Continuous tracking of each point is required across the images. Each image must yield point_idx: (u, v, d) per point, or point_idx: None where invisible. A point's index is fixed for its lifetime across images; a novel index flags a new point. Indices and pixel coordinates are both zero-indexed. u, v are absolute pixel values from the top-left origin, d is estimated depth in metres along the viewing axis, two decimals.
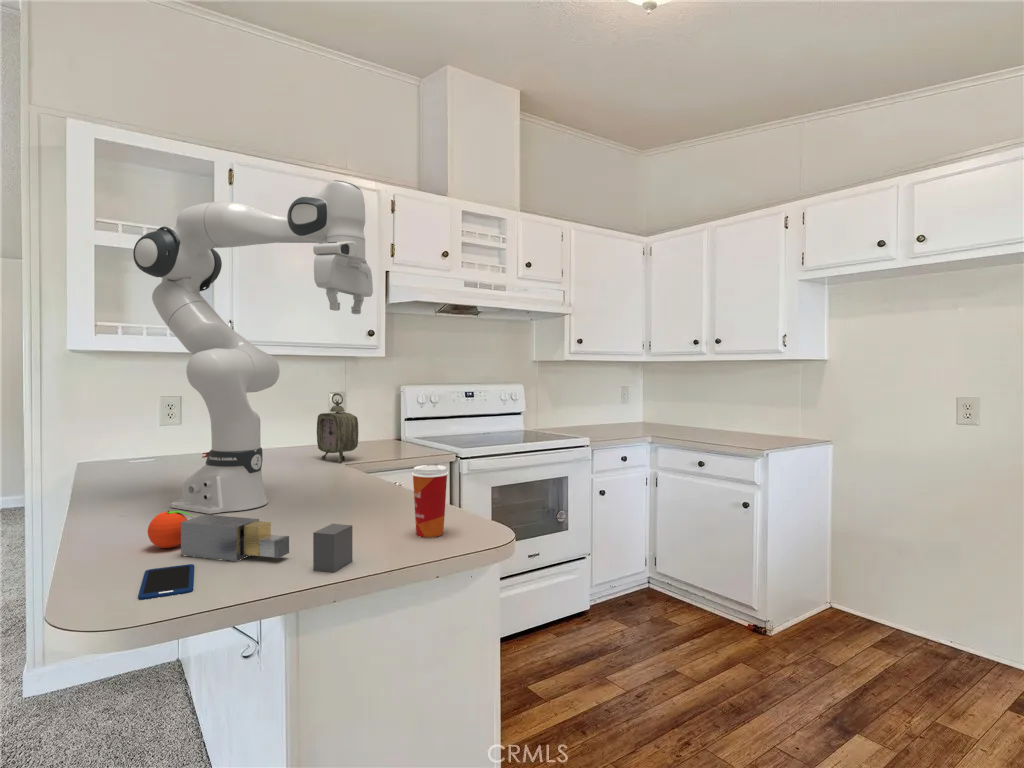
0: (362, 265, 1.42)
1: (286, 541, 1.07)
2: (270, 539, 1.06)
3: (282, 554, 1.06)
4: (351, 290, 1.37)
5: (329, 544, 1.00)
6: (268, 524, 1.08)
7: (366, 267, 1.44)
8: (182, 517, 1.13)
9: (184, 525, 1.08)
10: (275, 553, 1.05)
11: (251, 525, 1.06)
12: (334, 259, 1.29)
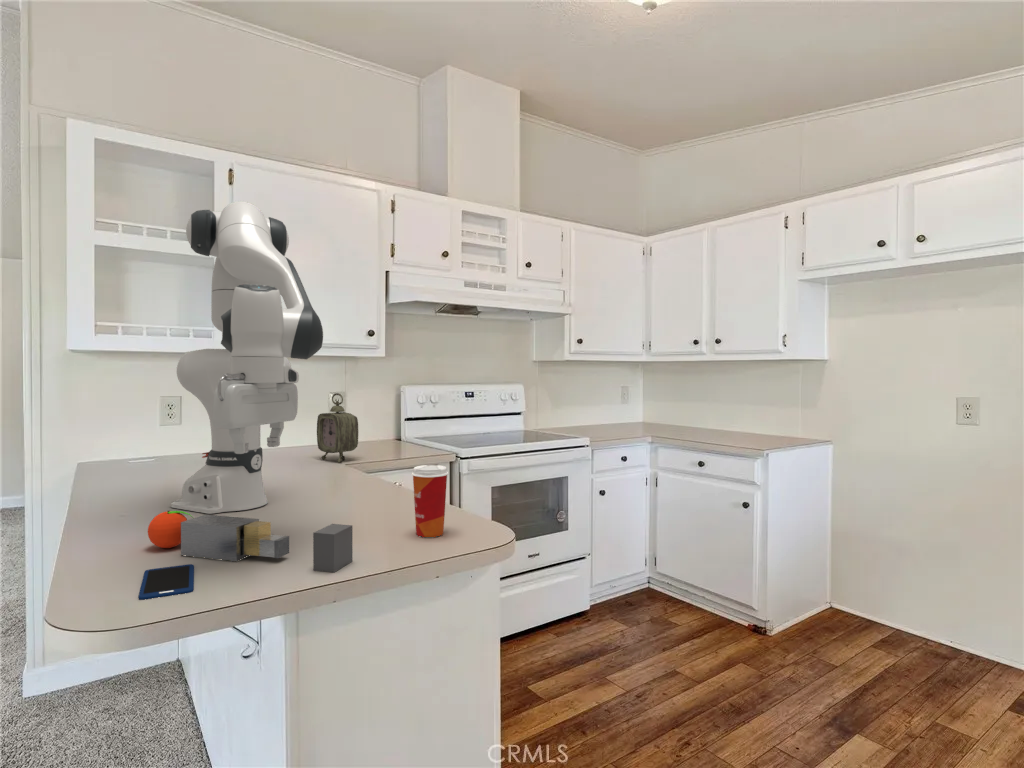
0: None
1: (286, 541, 1.07)
2: (270, 539, 1.06)
3: (282, 554, 1.06)
4: None
5: (329, 544, 1.00)
6: (268, 524, 1.08)
7: None
8: (182, 517, 1.13)
9: (184, 525, 1.08)
10: (275, 553, 1.05)
11: (251, 525, 1.06)
12: None
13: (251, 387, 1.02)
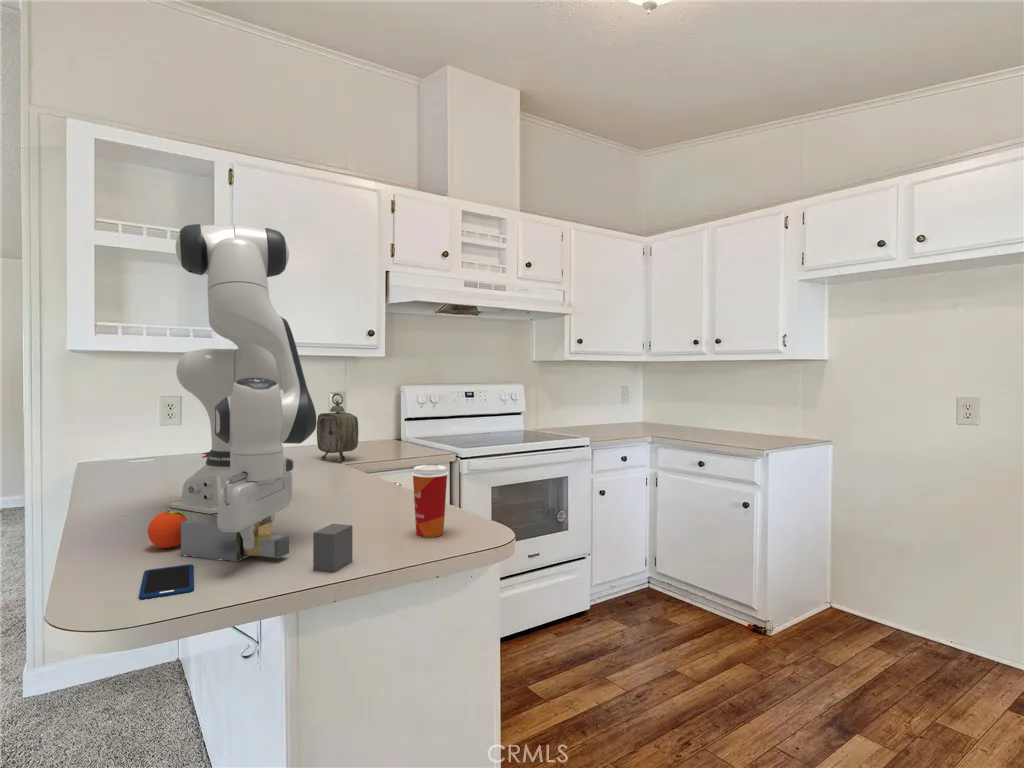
0: None
1: (286, 541, 1.07)
2: (270, 539, 1.06)
3: (282, 554, 1.06)
4: None
5: (329, 544, 1.00)
6: (268, 524, 1.08)
7: None
8: (182, 517, 1.13)
9: (184, 525, 1.08)
10: (275, 553, 1.05)
11: None
12: None
13: (254, 486, 1.03)
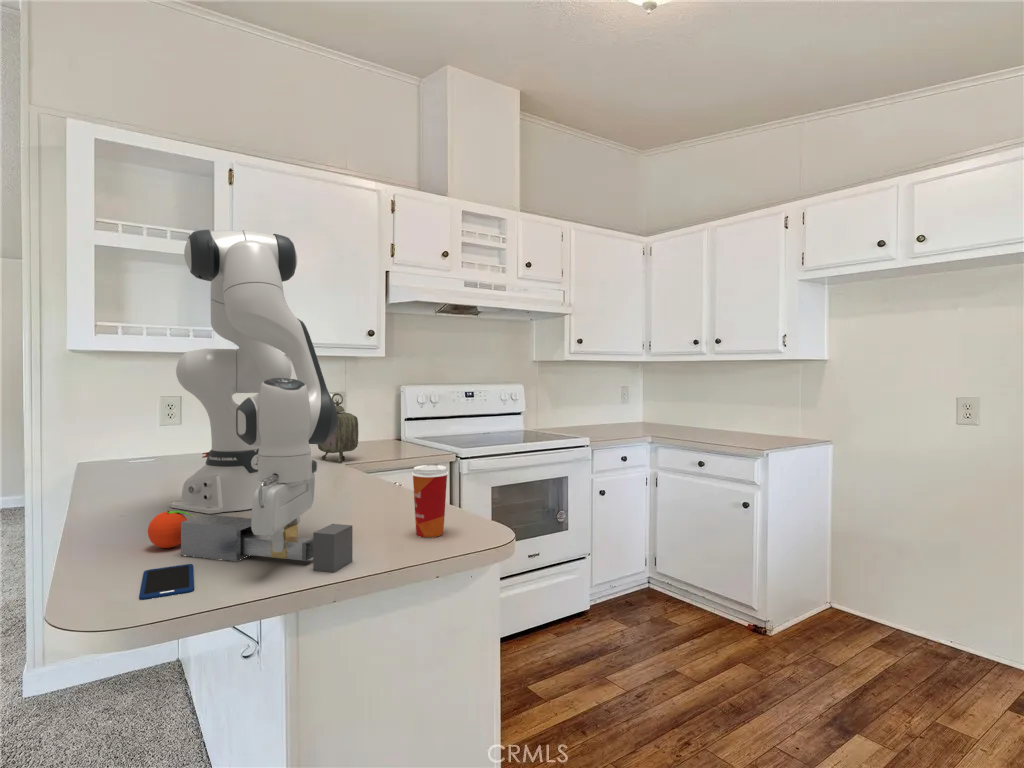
0: None
1: None
2: (297, 542, 1.04)
3: (309, 557, 1.04)
4: None
5: (329, 544, 1.00)
6: (295, 526, 1.07)
7: None
8: (182, 517, 1.13)
9: (184, 525, 1.08)
10: (303, 556, 1.03)
11: None
12: None
13: (285, 488, 1.01)
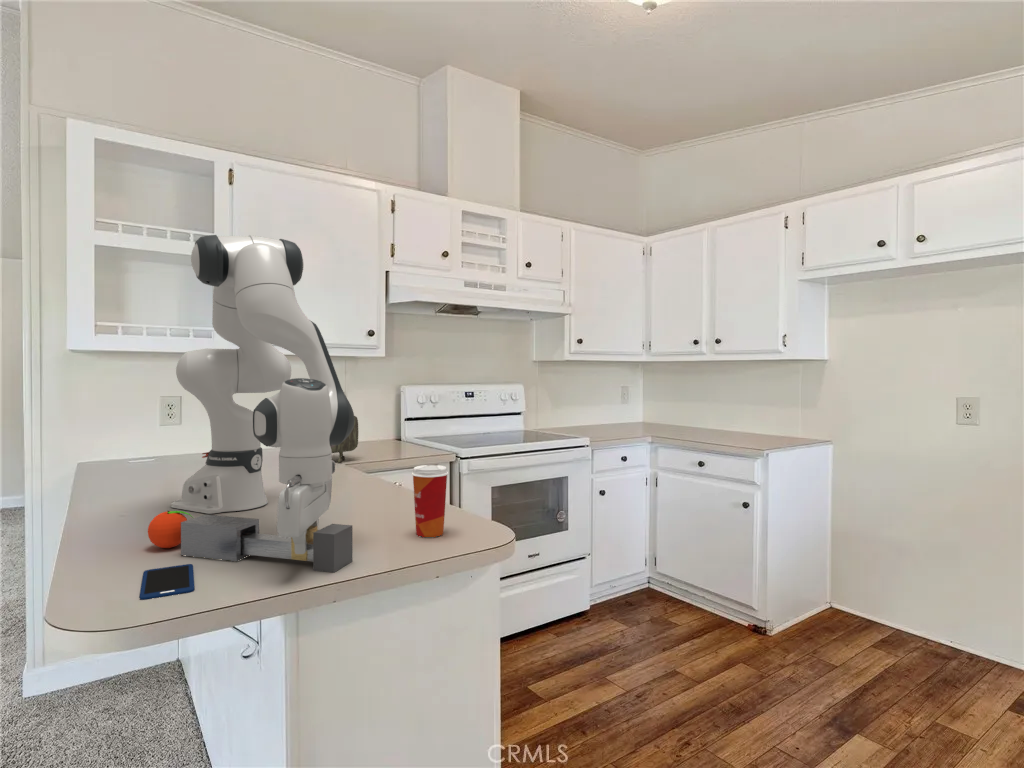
0: None
1: None
2: None
3: None
4: None
5: (329, 544, 1.00)
6: (315, 528, 1.06)
7: None
8: (182, 517, 1.13)
9: (184, 525, 1.08)
10: None
11: None
12: None
13: (308, 489, 1.00)
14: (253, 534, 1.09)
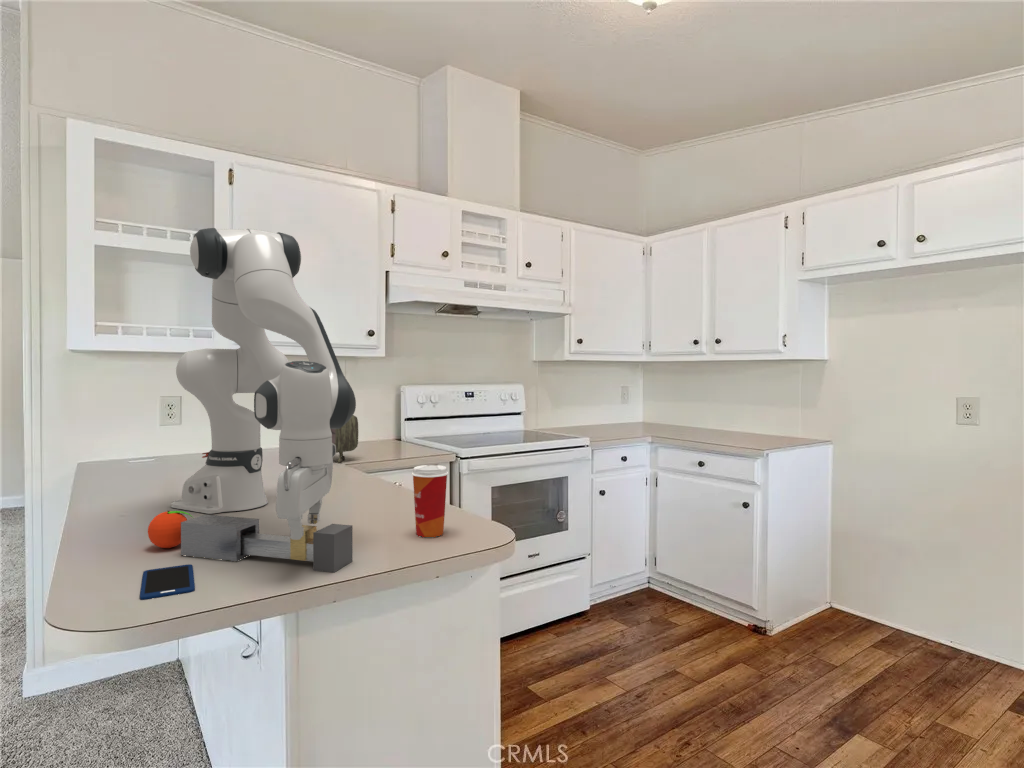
0: None
1: None
2: None
3: None
4: None
5: (329, 544, 1.00)
6: (314, 528, 1.06)
7: None
8: (182, 517, 1.13)
9: (184, 525, 1.08)
10: None
11: None
12: None
13: (308, 471, 1.01)
14: (252, 534, 1.09)
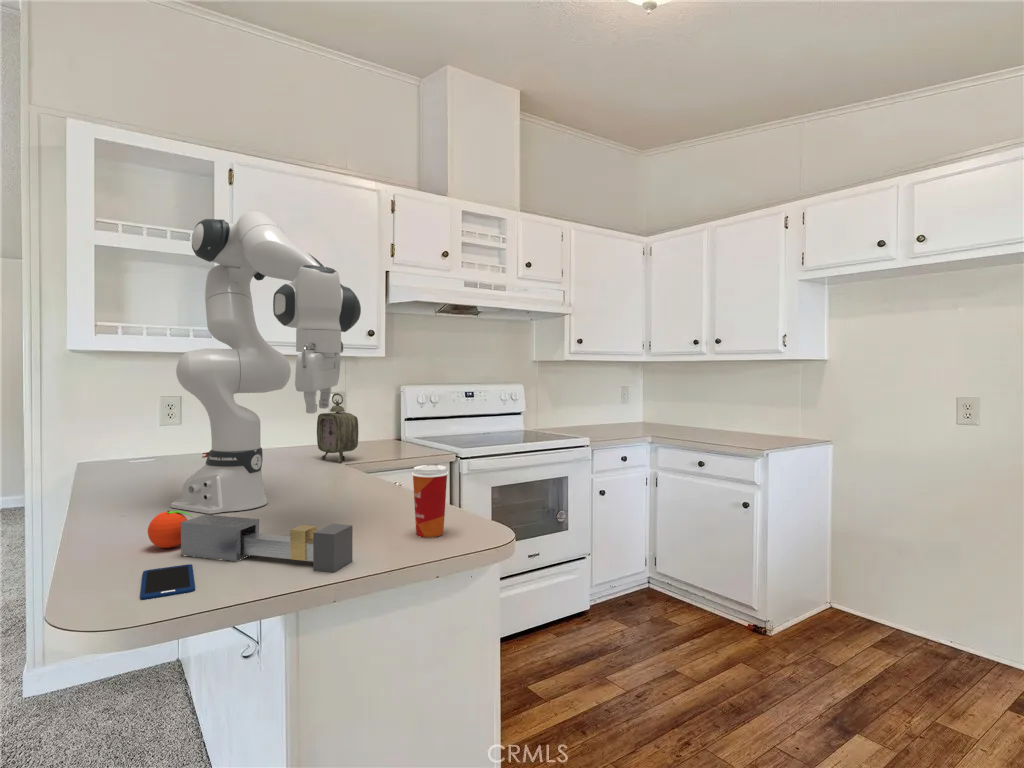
0: None
1: None
2: None
3: None
4: None
5: (329, 544, 1.00)
6: (314, 528, 1.06)
7: None
8: (182, 517, 1.13)
9: (184, 525, 1.08)
10: None
11: (298, 529, 1.04)
12: None
13: (321, 356, 1.18)
14: (252, 534, 1.09)
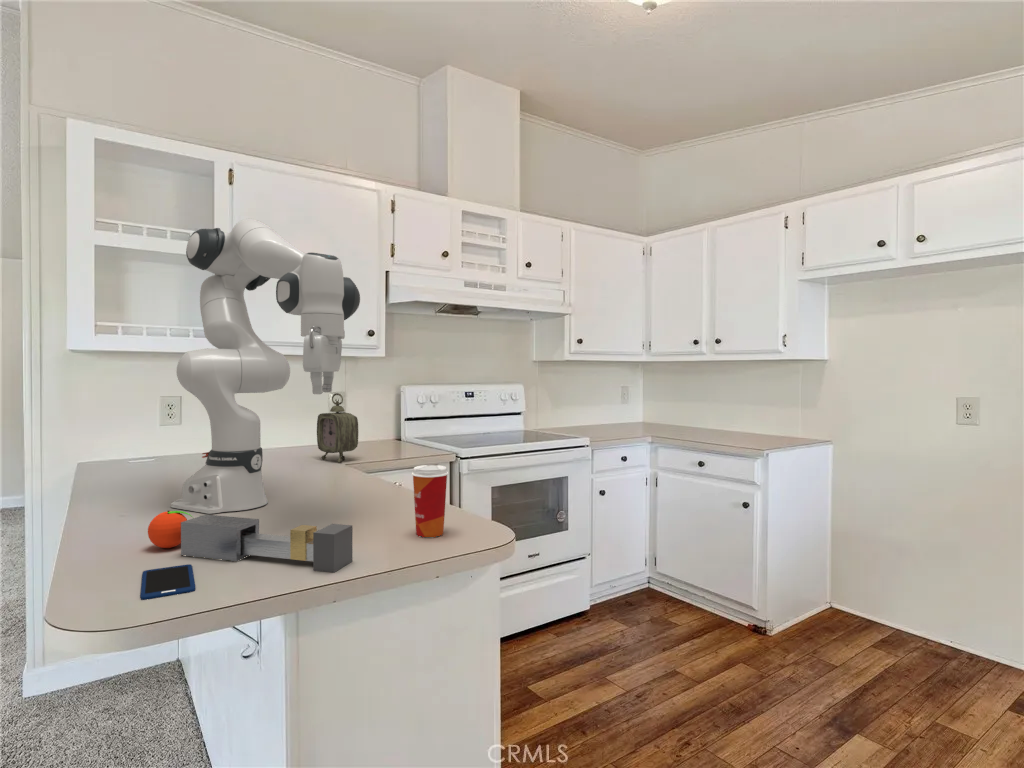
0: None
1: None
2: None
3: None
4: None
5: (329, 544, 1.00)
6: (314, 528, 1.06)
7: None
8: (182, 517, 1.13)
9: (184, 525, 1.08)
10: None
11: (298, 529, 1.04)
12: None
13: (326, 339, 1.23)
14: (252, 534, 1.09)
